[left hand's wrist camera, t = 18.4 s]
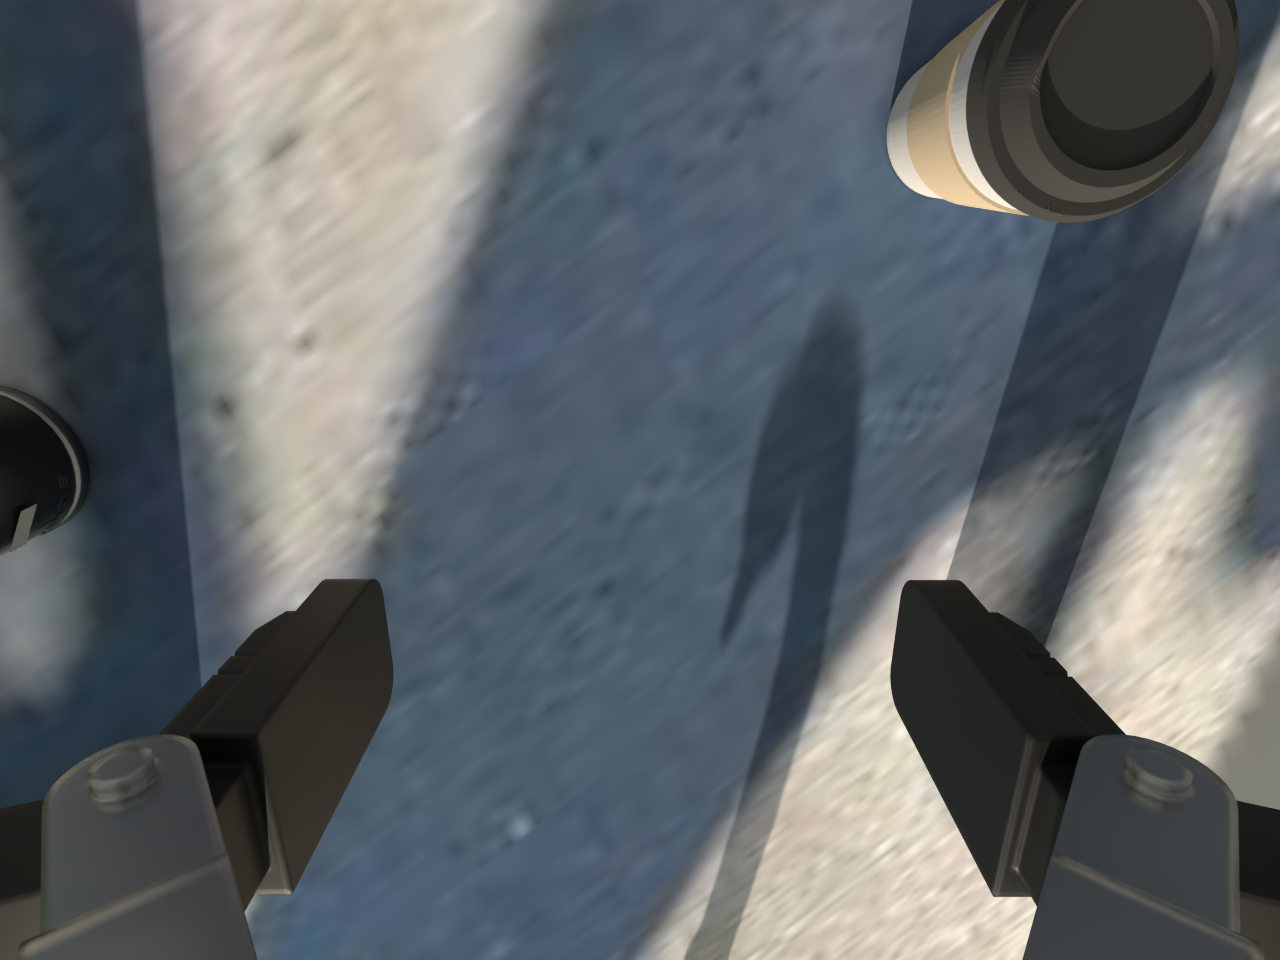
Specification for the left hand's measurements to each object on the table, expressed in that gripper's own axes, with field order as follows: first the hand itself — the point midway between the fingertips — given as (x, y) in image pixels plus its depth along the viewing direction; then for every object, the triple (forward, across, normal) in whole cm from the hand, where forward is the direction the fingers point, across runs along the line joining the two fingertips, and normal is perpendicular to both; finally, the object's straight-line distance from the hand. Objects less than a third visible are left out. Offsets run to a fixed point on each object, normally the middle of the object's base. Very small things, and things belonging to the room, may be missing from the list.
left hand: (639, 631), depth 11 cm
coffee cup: (+32, -16, -10) cm, 37 cm away
